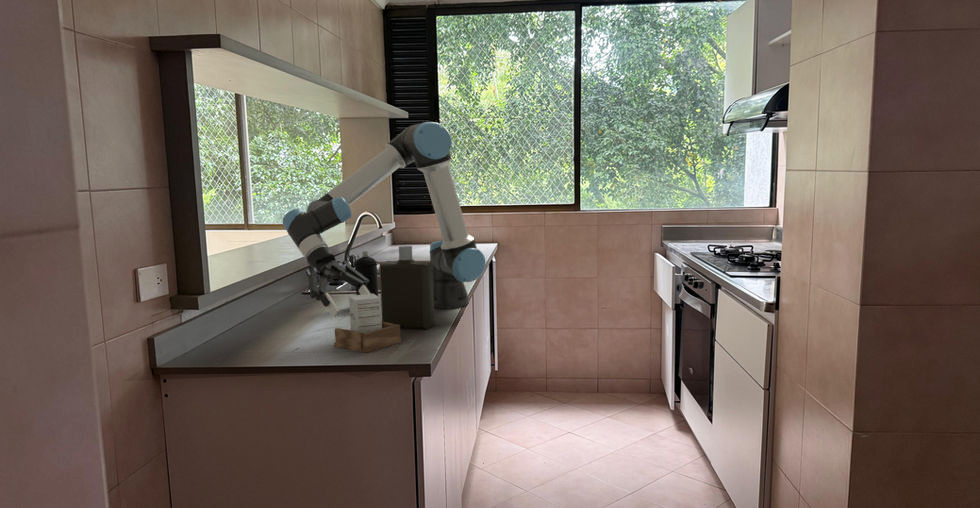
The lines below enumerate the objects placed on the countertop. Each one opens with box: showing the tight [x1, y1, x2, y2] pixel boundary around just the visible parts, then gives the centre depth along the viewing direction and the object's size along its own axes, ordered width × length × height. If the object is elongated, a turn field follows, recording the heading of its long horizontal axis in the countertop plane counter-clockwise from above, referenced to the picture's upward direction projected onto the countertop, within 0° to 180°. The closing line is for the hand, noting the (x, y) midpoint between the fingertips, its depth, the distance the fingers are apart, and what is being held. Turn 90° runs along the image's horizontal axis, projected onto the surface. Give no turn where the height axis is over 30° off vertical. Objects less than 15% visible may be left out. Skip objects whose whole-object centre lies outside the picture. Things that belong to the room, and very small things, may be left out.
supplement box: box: [348, 294, 382, 333], centre depth 181 cm, size 7×7×13 cm
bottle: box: [379, 245, 436, 330], centre depth 201 cm, size 8×16×25 cm, turn 74°
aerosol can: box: [353, 250, 379, 297], centre depth 233 cm, size 8×8×20 cm
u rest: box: [333, 322, 402, 354], centre depth 182 cm, size 13×13×5 cm
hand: (355, 309), depth 184 cm, fingers open, 13 cm apart
